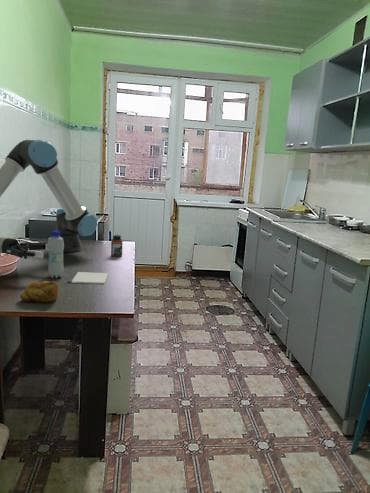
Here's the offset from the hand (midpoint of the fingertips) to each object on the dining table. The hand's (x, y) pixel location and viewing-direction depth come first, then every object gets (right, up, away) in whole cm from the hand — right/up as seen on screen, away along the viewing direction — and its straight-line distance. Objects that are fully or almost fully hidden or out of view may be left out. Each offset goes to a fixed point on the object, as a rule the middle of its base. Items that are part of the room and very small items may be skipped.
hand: (51, 251), depth 164 cm
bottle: (+1, -11, +3) cm, 11 cm away
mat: (+15, -12, +3) cm, 19 cm away
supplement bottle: (+19, -3, +46) cm, 50 cm away
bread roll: (+5, -17, -25) cm, 31 cm away
